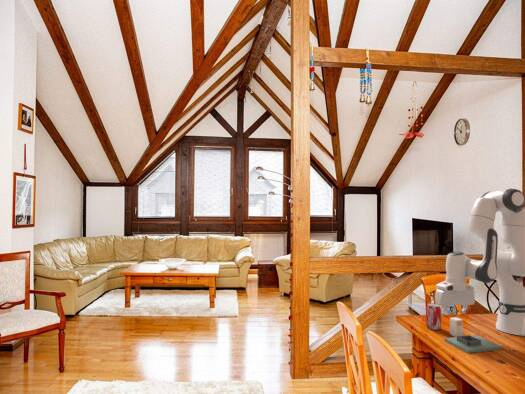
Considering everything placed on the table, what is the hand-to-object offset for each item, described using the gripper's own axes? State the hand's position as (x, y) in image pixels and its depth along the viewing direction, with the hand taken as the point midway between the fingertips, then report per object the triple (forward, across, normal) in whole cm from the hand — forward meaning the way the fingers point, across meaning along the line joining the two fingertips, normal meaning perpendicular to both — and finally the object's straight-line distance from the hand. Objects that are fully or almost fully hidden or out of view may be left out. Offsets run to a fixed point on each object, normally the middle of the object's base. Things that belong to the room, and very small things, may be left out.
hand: (455, 314), depth 179 cm
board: (+10, +1, +12) cm, 16 cm away
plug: (+10, -1, 0) cm, 10 cm away
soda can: (+10, +3, -11) cm, 16 cm away
